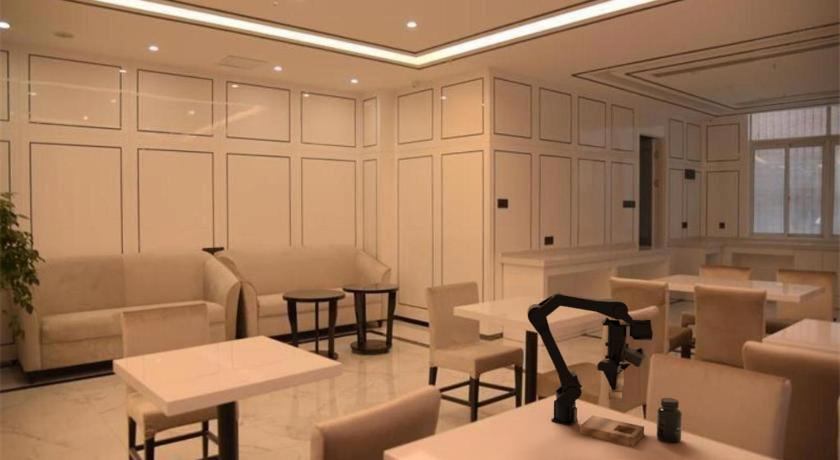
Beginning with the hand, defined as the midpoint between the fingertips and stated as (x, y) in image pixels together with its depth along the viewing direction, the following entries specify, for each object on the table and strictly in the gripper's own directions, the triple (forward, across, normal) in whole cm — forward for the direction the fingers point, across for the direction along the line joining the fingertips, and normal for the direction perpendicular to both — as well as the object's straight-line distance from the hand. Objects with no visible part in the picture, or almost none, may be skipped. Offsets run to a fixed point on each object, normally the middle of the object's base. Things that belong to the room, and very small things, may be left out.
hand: (616, 388), depth 189 cm
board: (+12, -9, -2) cm, 15 cm away
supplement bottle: (+12, -3, -17) cm, 21 cm away
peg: (+3, 0, 0) cm, 3 cm away
